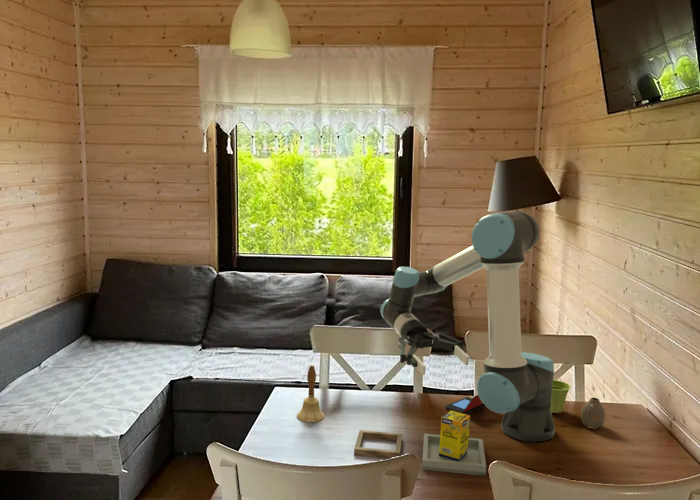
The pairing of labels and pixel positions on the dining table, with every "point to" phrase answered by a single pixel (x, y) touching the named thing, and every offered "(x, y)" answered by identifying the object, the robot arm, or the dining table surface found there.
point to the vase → (593, 413)
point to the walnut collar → (377, 452)
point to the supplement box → (454, 435)
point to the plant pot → (558, 395)
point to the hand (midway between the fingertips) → (446, 365)
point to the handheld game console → (466, 405)
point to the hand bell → (311, 402)
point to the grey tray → (467, 465)
